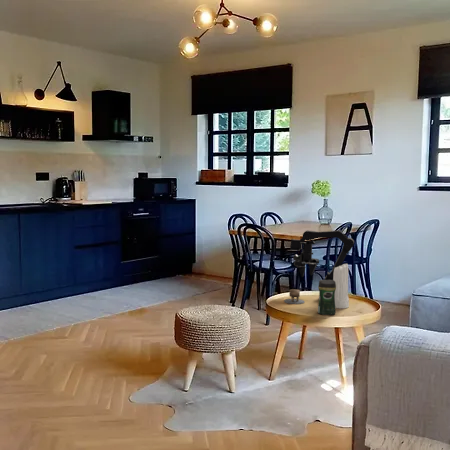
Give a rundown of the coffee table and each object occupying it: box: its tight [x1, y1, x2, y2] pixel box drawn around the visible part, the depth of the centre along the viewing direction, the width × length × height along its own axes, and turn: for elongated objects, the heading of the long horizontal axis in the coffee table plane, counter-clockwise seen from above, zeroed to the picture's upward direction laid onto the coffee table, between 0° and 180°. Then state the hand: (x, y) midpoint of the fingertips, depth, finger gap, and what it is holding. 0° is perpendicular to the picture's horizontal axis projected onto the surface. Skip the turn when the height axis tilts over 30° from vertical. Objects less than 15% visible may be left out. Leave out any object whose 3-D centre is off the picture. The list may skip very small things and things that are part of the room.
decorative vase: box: [333, 263, 350, 309], centre depth 320 cm, size 11×11×25 cm
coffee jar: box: [317, 279, 337, 316], centre depth 303 cm, size 10×8×19 cm
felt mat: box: [283, 298, 305, 305], centre depth 331 cm, size 12×12×1 cm
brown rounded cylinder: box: [288, 288, 301, 302], centre depth 330 cm, size 6×6×6 cm
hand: (306, 276), depth 344 cm, fingers open, 9 cm apart
